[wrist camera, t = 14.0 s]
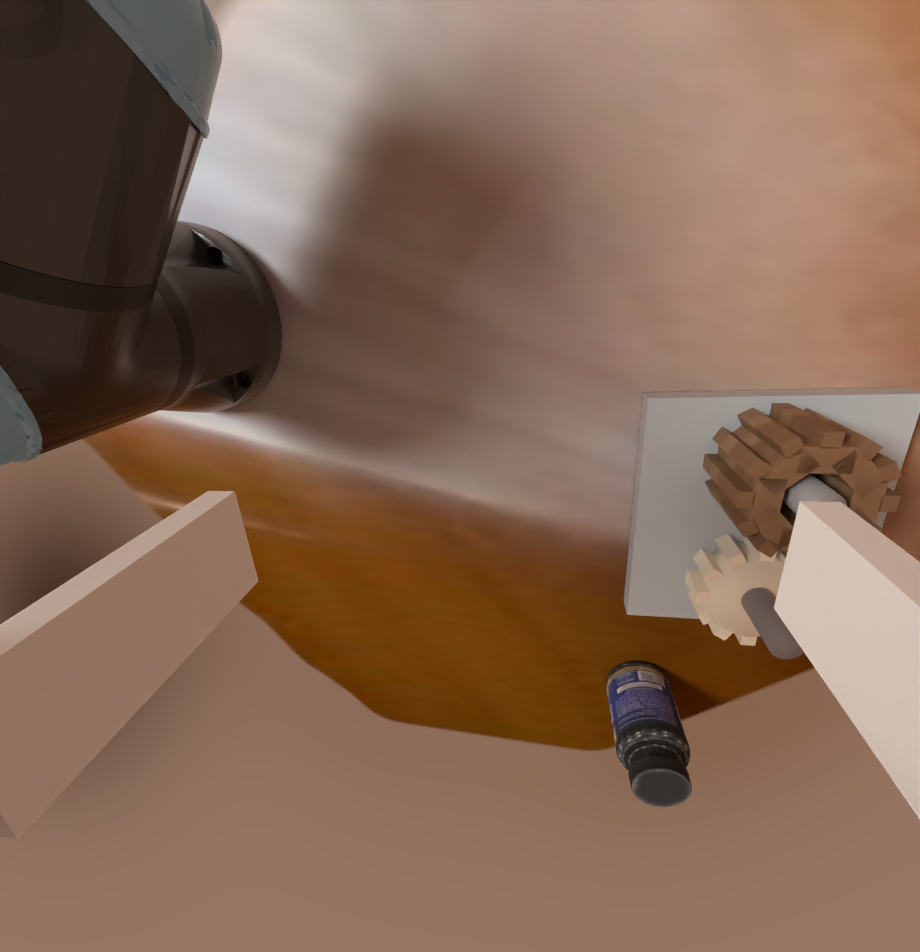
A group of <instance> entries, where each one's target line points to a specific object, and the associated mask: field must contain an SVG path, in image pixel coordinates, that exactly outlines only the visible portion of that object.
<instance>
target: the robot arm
mask: <svg viewBox="0 0 920 952" xmlns="http://www.w3.org/2000/svg"><path fill="white" fill-rule="evenodd" d="M221 60H222V45H221V38H220V34H219V30H218V27H217V24H216V22H215V19H214V17H213V15H212V13H211V11H210V10H209V8H208V6H207V4H206V3H205V1H204V0H0V465H3V464H7V463H10V462H18V461H19V462H25V461H29V460H31V459H34V458H35V457H37V456H38V455H39V454H42V453H44V452H47V451H50V450H52V449H55V448H58V447H61V446H63V445H66V444H68V443H71V442H74V441H77V440H80V439H82V438H85V437H88V436H90V435H93V434H96V433H99V432H101V431H104V430H107V429H109V428H112V427H115V426H117V425H120V424H123V423H126V422H128V421H131V420H134V419H136V418H139V417H142V416H145V415H147V414H150V413H153V412H155V411H158V410H167V411H184V412H203V413H206V412H216V411H221V410H225V409H228V408H231V407H233V406H236V405H238V404H240V403H243V402H245V401H247V400H249V399H251V398H252V397H254V396H255V395H256V394H258V393H259V392H260V391H261V390H262V389H263V388H264V387H265V386H266V384H267V383H268V382H269V380H270V378H271V377H272V375H273V373H274V371H275V368H276V366H277V363H278V359H279V355H280V348H281V326H280V319H279V314H278V309H277V306H276V303H275V300H274V297H273V295H272V292H271V290H270V288H269V286H268V284H267V282H266V280H265V278H264V277H263V275H262V273H261V272H260V270H259V269H258V267H257V266H256V265H255V263H254V262H253V261H252V260H251V259H250V257H249V256H248V255H247V254H246V253H245V252H244V251H243V250H242V249H241V248H240V247H239V246H237V245H236V244H235V243H234V242H232V241H231V240H230V239H228V238H227V237H225V236H224V235H222V234H220V233H219V232H217V231H215V230H213V229H210V228H208V227H205V226H202V225H199V224H195V223H189V222H183V221H177V219H178V216H179V213H180V209H181V206H182V203H183V200H184V197H185V194H186V191H187V188H188V184H189V181H190V178H191V175H192V172H193V169H194V166H195V163H196V160H197V156H198V153H199V150H200V147H201V144H202V141H203V138H206V139H207V137H208V135H209V126H208V123H207V121H208V117H209V112H210V107H211V103H212V98H213V94H214V90H215V86H216V82H217V78H218V74H219V70H220V66H221ZM257 582H258V578H257V574H256V570H255V567H254V563H253V559H252V555H251V552H250V548H249V544H248V540H247V536H246V533H245V529H244V525H243V521H242V518H241V514H240V510H239V506H238V502H237V499H236V495H235V492H232V491H207V492H206V493H204V494H203V495H201V496H200V497H198V498H196V499H195V500H193V501H192V502H190V503H189V504H187V505H186V506H184V507H183V508H181V509H179V510H178V511H176V512H175V513H173V514H172V515H170V516H169V517H167V518H165V519H164V520H162V521H161V522H159V523H158V524H156V525H155V526H153V527H151V528H150V529H148V530H147V531H145V532H144V533H142V534H141V535H139V536H137V537H136V538H134V539H133V540H131V541H130V542H128V543H127V544H125V545H124V546H122V547H120V548H119V549H117V550H116V551H114V552H113V553H111V554H109V555H108V556H106V557H105V558H103V559H102V560H100V561H99V562H97V563H95V564H94V565H92V566H91V567H89V568H88V569H86V570H85V571H83V572H81V573H80V574H78V575H77V576H75V577H74V578H72V579H71V580H69V581H68V582H66V583H65V584H63V585H62V586H60V587H58V588H57V589H55V590H53V591H52V592H50V593H49V594H47V595H46V596H44V597H43V598H41V599H39V600H38V601H36V602H35V603H33V604H32V605H30V606H29V607H27V608H26V609H24V610H22V611H21V612H19V613H18V614H16V615H15V616H13V617H11V618H10V619H8V620H7V621H5V622H4V623H2V624H1V625H0V836H2V837H8V838H14V839H18V838H19V837H20V836H21V835H22V834H23V833H24V832H25V831H26V830H27V829H28V828H29V826H30V825H31V824H32V823H33V822H34V821H35V820H36V819H37V818H38V817H39V816H40V815H41V813H42V812H43V811H44V810H45V809H46V808H47V807H48V806H49V805H50V804H51V803H52V802H53V801H54V800H55V799H56V797H57V796H58V795H59V794H60V793H61V792H62V791H63V790H64V789H65V788H66V787H67V786H68V785H69V784H70V783H71V781H72V780H73V779H74V778H75V777H76V776H77V775H78V774H79V773H80V772H81V771H82V770H83V769H84V767H85V766H86V765H87V764H88V763H89V762H90V761H91V760H92V759H93V758H94V757H95V755H97V754H98V752H99V751H100V750H101V749H102V748H103V747H104V746H105V745H106V744H107V743H108V742H109V741H110V740H111V738H112V737H113V736H114V735H115V734H116V733H117V732H118V731H119V730H120V729H121V728H122V727H123V726H124V725H125V724H126V722H127V721H128V720H129V719H130V718H131V717H132V716H133V715H134V714H135V713H136V712H137V711H138V710H139V708H140V707H141V706H142V705H143V704H144V703H145V702H146V701H147V700H148V699H149V698H150V697H151V696H152V695H153V693H154V692H155V691H156V690H157V689H158V688H159V687H160V686H161V685H162V684H163V683H164V682H165V681H166V679H168V677H169V676H170V675H171V674H172V673H173V672H174V671H175V670H176V669H177V668H178V667H179V666H180V664H181V663H182V662H183V661H184V660H185V659H186V658H187V657H188V656H189V655H190V654H191V652H193V651H194V650H195V648H196V647H197V646H198V645H199V644H200V643H201V642H202V641H203V640H204V639H205V638H206V637H207V636H208V635H209V633H210V632H211V631H212V630H213V629H214V628H215V627H216V626H217V625H218V624H219V623H220V622H221V621H222V619H223V618H224V617H225V616H226V615H227V614H228V613H229V612H230V611H231V610H232V609H233V608H234V607H235V605H237V603H238V602H239V601H240V600H241V599H242V598H243V597H244V596H245V595H246V594H247V593H248V592H249V591H250V590H251V588H252V587H253V586H254V585H255V584H256V583H257ZM774 609H775V611H776V612H777V614H778V615H779V617H780V618H781V619H782V621H783V622H784V624H785V625H786V627H787V628H788V630H789V631H790V633H791V634H792V635H793V637H794V638H795V640H796V641H797V643H798V644H799V646H800V647H801V648H802V650H803V651H804V653H805V654H806V656H807V657H808V659H809V660H810V661H811V663H812V664H813V666H814V667H815V669H816V670H817V672H818V673H819V674H820V676H821V677H822V679H823V680H824V682H825V683H826V684H827V686H828V687H829V689H830V690H831V692H832V693H833V694H834V696H835V698H836V699H837V700H838V702H839V703H840V705H841V706H842V708H843V709H844V711H845V712H846V713H847V715H848V716H849V718H850V719H851V720H852V722H853V724H854V725H855V726H856V728H857V729H858V731H859V732H860V734H861V735H862V737H863V738H864V739H865V741H866V742H867V744H868V745H869V747H870V748H871V749H872V751H873V752H874V754H875V755H876V757H877V758H878V760H879V761H880V763H881V764H882V765H883V767H884V768H885V770H886V771H887V773H888V774H889V776H890V777H891V778H892V780H893V781H894V783H895V784H896V786H897V787H898V788H899V790H900V791H901V793H902V794H903V796H904V797H905V799H906V800H907V802H908V803H909V805H910V806H911V807H912V809H913V810H914V812H915V813H916V814H917V816H918V818H919V819H920V562H919V561H918V560H916V559H915V558H914V557H912V556H911V555H910V554H908V553H907V552H906V551H904V550H903V549H902V548H901V547H899V546H898V545H897V544H895V543H894V542H893V541H891V540H890V539H889V538H887V537H886V536H885V535H883V534H882V533H881V532H880V531H878V530H877V529H876V528H874V527H873V526H872V525H870V524H869V523H868V522H866V521H865V520H864V519H862V518H861V517H860V516H859V515H857V514H856V513H855V512H853V511H852V510H851V509H849V508H848V507H847V506H845V505H844V504H843V503H841V502H812V501H800V503H799V507H798V511H797V515H796V519H795V523H794V527H793V531H792V535H791V540H790V544H789V548H788V552H787V556H786V560H785V564H784V568H783V572H782V576H781V581H780V585H779V589H778V593H777V597H776V601H775V605H774Z"/></svg>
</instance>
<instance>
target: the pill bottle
mask: <svg viewBox="0 0 920 952" xmlns="http://www.w3.org/2000/svg"><path fill="white" fill-rule="evenodd" d="M606 690H607V696H608V702H609V708H610V714H611V720H612V726H613V732H614V738H615V745H616V751H617V756H618V758H619V760H620V762H621V763H622V764H623V766H624V767H625V768H626V769H627V770H628V771H629V779H630V784H631V789H632V791H633V793H634V795H635V796H636V797H637V798H638V799H640V800H641V801H643V802H644V803H647V804H649V805H653V806H660V807H669V806H674V805H677V804H680V803H682V802H684V801H685V800H686V799H687V798H688V797H689V796H690V794H691V790H692V787H691V782H690V779H689V774H688V772H687V769H686V767H687V765H688V763H689V759H690V749H689V745H688V742H687V739H686V736H685V733H684V730H683V726H682V723H681V720H680V717H679V713H678V710H677V707H676V704H675V701H674V698H673V694H672V691H671V688H670V685H669V682H668V679H667V678H666V676H665V675H664V674H663V672H662V671H661V670H660V669H658V668H657V667H655V666H653V665H650V664H648V663H645V662H627V663H623V664H621V665H619V666H617V667H615V668H614V669H613V670H612V671H611V672H610V674H609V675H608V677H607V681H606Z"/></svg>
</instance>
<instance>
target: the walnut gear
mask: <svg viewBox="0 0 920 952" xmlns="http://www.w3.org/2000/svg"><path fill="white" fill-rule="evenodd" d="M737 416H738V418H739V420H740V423H741V425H742V426H740V427H739V428H738V429H736V430H735V431H734V432H730V431H729V430H727V429H725V428H723V427H721V428H720V429H719V431H718V432H717V433H716V434H715V435H714V437H713V438H712V439H713V440H714V441H715V442H716V443H717V444H718V445H719V447H718V453H717V454H705V455H704V461H703V468H704V470H705V471H706V472H707V473H708V474H709V476H710V477H711V478H712V479H710V480H707V481H705V484H706V486H707V488H708V490H709V492H710V493H711V495H712V496H713V497H714V499H715V500H716V501H717V502H718V504H719V505H720V506H721V508H722V509H723V510H724V512H725V513H726V514H727V516H728V517H729V518H730V519H731V521H732V522H733V523H734V525H735V526H736V527H737V529H738V530H739V531H740V532H741V534H742V535H743V536H744V538H745V537H747V538H748V540H749V541H750V542H751V543H752V545H753V546H754V547H755V549H756V550H757V551H759V552H761V553H763V554H765V555H766V556H768V557H770V558H771V557H772V556H773V555H774V554H775V553H776V552H777V551H780V552H781V553H782V554H783V555H784V557H785V558H786V556H787V552H788V548H789V544H790V540H791V535H792V531H793V527H794V523H795V519H796V515H797V514H796V513H795V512H794V511H793V510H791V509H790V508H789V507H788V506H787V505H786V504H785V503H784V502H783V497H784V493H785V489H787V488H788V487H790V486H791V485H793V484H794V483H796V482H797V481H799V480H800V479H802V478H803V477H805V476H806V475H808V474H809V473H811V474H812V475H814V476H815V477H816V478H818V479H819V480H820V481H822V482H823V483H824V484H826V485H827V486H828V487H830V488H831V489H832V490H834V491H835V492H836V493H838V494H839V495H841V496H842V497H843V498H844V499H845V501H846V503H847V507H848V508H849V509H851V510H852V511H853V512H855V513H856V514H857V515H859V516H860V517H861V518H862V519H864V520H865V521H866V522H868V523H869V524H870V525H872V526H873V527H874V528H876V529H877V530H878V531H880V532H882V531H883V530H884V529H882V528H881V527H880V526H878V525H877V524H876V520H877V517H878V514H879V512H896V511H897V508H898V505H899V502H900V499H901V495H899V494H898V493H896V492H894V491H893V490H891V489H890V488H888V484H889V482H890V481H893V480H896V479H898V478H901V477H902V476H901V473H900V471H899V468H898V465H897V462H896V461H894V460H892V459H890V458H888V457H886V456H884V455H882V454H880V453H879V451H880V450H881V449H882V448H883V447H882V446H880V445H879V444H877V443H875V442H874V441H872V440H870V439H868V438H867V437H865V436H863V435H861V434H859V433H857V432H855V431H853V430H851V429H849V428H847V427H845V426H843V425H841V424H839V423H837V422H835V421H833V420H831V419H829V418H827V417H825V416H823V415H821V414H819V413H817V412H815V411H813V410H811V409H809V408H807V407H806V409H805V410H804V411H803V410H801V409H799V408H797V407H795V406H794V405H792V404H790V403H772V405H771V410H770V414H769V415H764V414H762V413H760V412H759V411H757V410H756V409H754V408H751V409H748V410H746V411H744V412H742V413H740V414H738V415H737Z"/></svg>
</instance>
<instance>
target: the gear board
mask: <svg viewBox="0 0 920 952" xmlns="http://www.w3.org/2000/svg"><path fill="white" fill-rule="evenodd" d="M772 403H790V404H792V405H794V406H795V407H797V408H799V409H801V410H803V411H804V410H805V409H806V407H807V408H809V409H811V410H813V411H815V412H817V413H819V414H821V415H823V416H825V417H827V418H829V419H831V420H833V421H835V422H837V423H839V424H841V425H843V426H845V427H847V428H849V429H851V430H853V431H855V432H857V433H859V434H861V435H863V436H865V437H867V438H868V439H870V440H872V441H874V442H875V443H877V444H879V445H880V446H882V447H883V448H882V449H881V450H880V451H879V453H880V454H882V455H884V456H886V457H888V458H890V459H892V460H894V461H896V462H897V465H898V468H899V471H900V472H901V469H902V465H903V462H904V459H905V456H906V453H907V450H908V447H909V444H910V441H911V438H912V435H913V432H914V429H915V426H916V423H917V419H918V416H919V413H920V392H919V391H916V390H913V389H909V388H906V387H894V388H842V389H791V390H739V391H688V392H643V398H642V409H641V420H640V430H639V441H638V452H637V463H636V473H635V484H634V495H633V506H632V516H631V527H630V538H629V549H628V559H627V570H626V581H625V592H624V604H625V608H626V613H627V615H641V616H658V617H676V618H693V619H700V620H701V622H702V624H703V625H705V624H709V626H710V628H711V630H712V632H713V635H715V636H717V637H719V638H721V639H723V640H726V639H727V638H728V637H729V636H730V635H731V634H732V633H734V634H735V636H736V637H737V639H738V641H739V643H740V645H751V646H755V644H756V639H757V637H758V636H761V638H762V640H763V641H764V643H765V645H766V646H767V648H768V650H769V651H770V653H771V654H772V655H773V656H775V657H777V658H779V659H793V658H796V657H799V656H800V655H802V654H803V653H804V651H803V650H802V648H801V647H800V646H799V644H798V643H797V641H796V640H795V638H794V637H793V635H792V634H791V633H790V631H789V630H788V628H787V627H786V625H785V624H784V622H783V621H782V619H781V618H780V617H779V615H778V614H777V612H776V611H775V609H774V605H775V601H776V597H777V593H778V589H779V585H780V581H781V576H782V572H783V568H784V564H785V560H786V558H785V557H784V555H783V554H782V553H781V552H780V551H777V552H776V553H775V554H774V555H773V556H772V557H771V558H770V557H768V556H766V555H765V554H763V553H761V552H759V551H757V550H756V549H755V547H754V546H753V545H752V543H751V542H750V541H749V540H748V538H747V537H745V538H744V536H743V535H742V534H741V532H740V531H739V530H738V529H737V527H736V526H735V525H734V523H733V522H732V521H731V519H730V518H729V517H728V516H727V514H726V513H725V512H724V510H723V509H722V508H721V506H720V505H719V504H718V502H717V501H716V500H715V499H714V497H713V496H712V495H711V493H710V492H709V490H708V488H707V486H706V484H705V481H707V480H710V479H712V478H711V477H710V476H709V474H708V473H707V472H706V471H705V470H704V468H703V461H704V455H705V454H717V453H718V447H719V445H718V444H717V443H716V442H715V441H714V440H713V439H712V438H713V437H714V435H715V434H716V433H717V432H718V431H719V429H720V428H721V427H723V428H725V429H727V430H729V431H730V432H734V431H735V430H736V429H738V428H739V427H740V426H742V425H741V423H740V420H739V418H738V416H737V415H738V414H740V413H742V412H744V411H746V410H748V409H751V408H754V409H756V410H757V411H759V412H760V413H762V414H764V415H769V414H770V410H771V405H772ZM897 481H898V479H896V480H893V481H890V482H889V484H888V488H890V489H891V490H893V491H894V490H895V487H896V484H897ZM800 501H812V502H841V503H843V504H844V505H845V506H847V503H846V501H845V499H844V498H843V497H842V496H841V495H839V494H838V493H836V492H835V491H834V490H832V489H831V488H830V487H828V486H827V485H826V484H824V483H823V482H822V481H820V480H819V479H818V478H816V477H815V476H814V475H812V474H811V473H809V474H808V475H806V476H805V477H803V478H802V479H800V480H799V481H797V482H796V483H794V484H793V485H791V486H790V487H788V488H787V489H785V493H784V497H783V502H784V503H785V504H786V505H787V506H788V507H789V508H790V509H791V510H793V511H794V512H795V513H796V514H797V511H798V507H799V503H800ZM886 515H887V512H879V514H878V517H877V520H876V524H877V525H878V526H880V527H881V528H882V527H883V524H884V521H885V518H886Z"/></svg>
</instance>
